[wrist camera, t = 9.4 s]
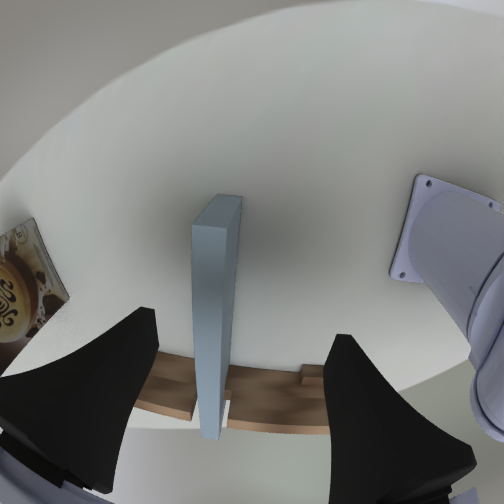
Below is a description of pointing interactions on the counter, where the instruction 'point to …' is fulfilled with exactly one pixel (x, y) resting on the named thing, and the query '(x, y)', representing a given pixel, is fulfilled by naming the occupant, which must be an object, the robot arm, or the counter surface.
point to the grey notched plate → (214, 304)
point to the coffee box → (25, 290)
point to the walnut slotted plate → (242, 396)
